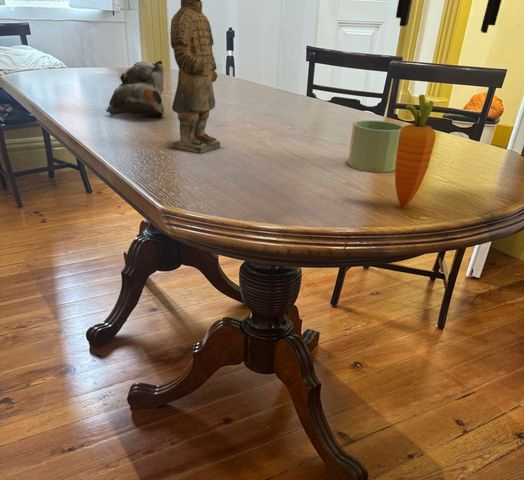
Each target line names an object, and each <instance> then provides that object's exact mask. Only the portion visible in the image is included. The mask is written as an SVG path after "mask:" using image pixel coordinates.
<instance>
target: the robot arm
mask: <svg viewBox="0 0 524 480" xmlns="http://www.w3.org/2000/svg"><path fill="white" fill-rule="evenodd" d="M397 1H398V2H397V8H396V13H395V18H396V19H399V27H406V26H408V25H409V19H410V15H411V14H410V13H411V8H412V5H413V0H397ZM501 4H502V0H487V4H486V7H485V11H484V16H483V20H482V24H481V27H480V32H481V33H482V34H488V30H489V26H496V22H497V19H498V15H499V12H500V8H501Z"/></svg>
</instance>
